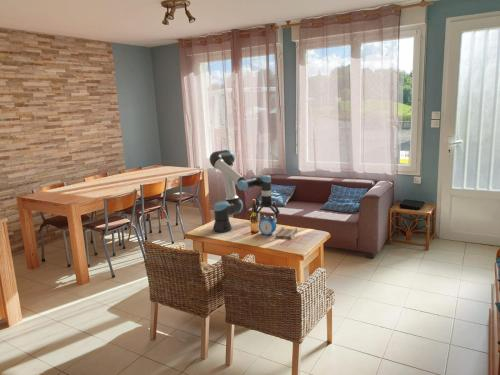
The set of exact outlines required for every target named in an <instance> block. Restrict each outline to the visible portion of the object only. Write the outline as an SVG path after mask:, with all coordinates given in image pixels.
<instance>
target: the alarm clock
mask: <svg viewBox="0 0 500 375" xmlns="http://www.w3.org/2000/svg"><path fill="white" fill-rule="evenodd" d="M276 229H277V222H276V223H275V220H274V216H272V215H271V216H266V215H265V214H264V215H260V221H259V223H258V230H259V232H260V233H261V234H262V235H263V236H264V235H265V236H271V234H273V233H274V232H275V231H276Z"/></svg>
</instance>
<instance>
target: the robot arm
mask: <svg viewBox="0 0 500 375" xmlns="http://www.w3.org/2000/svg"><path fill="white" fill-rule="evenodd" d="M235 159H236V157H235V154H234V153H233V151H232V150H229V149H224V150H223V149H222V150H217V151H214V152H212V153H211V154H210V156H209V163H210V165H211V166H212V168H214V169H215V170H218V171H219V172H221V173H222V174H221V175H222V178H223V185H224V189H225V197H226V198H224V199H225V200H219V201H217V202H215V203H214V204H213V210H214V212H213V213H214V223H213V226H212V230H213V232H215V233H227V232H230V231H232V227H233V226H232V224H231V222H230V216H232V215H237V214H239V213H241V212H242V211H243V207H244V203H243V201H242V199H240V197H239V196H238V195H237V190H236V186H237V189H238V190H240V191H246V190H249V189H253V188H257V187H258V188H261V189H260V190H261V200H258V201H257V205H256V207H255V209H254V213H255V214H256V218H257V222H260V221H261V219H260V218H261V214H260V211H261V210H262V209H263V208H269V209H271V211H272V212H273V213H274V215H273V218H274V221H275V223H276V224H277V219H278V216H279V214H280V213H281V212H280V210H279V209H278V206H277V202H276V201H272V179H271V175H269V174H263V175H261V176H259V177H258V176H250V177H249V178H245V177H244V175H242V174H240V172H238V171H236V170H235V169H234V168H233V166H234V163H235ZM260 205H261V206H260ZM259 207H260V208H259Z"/></svg>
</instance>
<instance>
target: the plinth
mask: <svg viewBox="0 0 500 375" xmlns="http://www.w3.org/2000/svg"><path fill="white" fill-rule="evenodd" d="M297 233H298V227H295V228H294V229H293V228H284V226H282V227H280V229H278V231H276V233H275V239H282V240H283V239H285V240H293V238H294V237H295V235H297Z"/></svg>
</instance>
